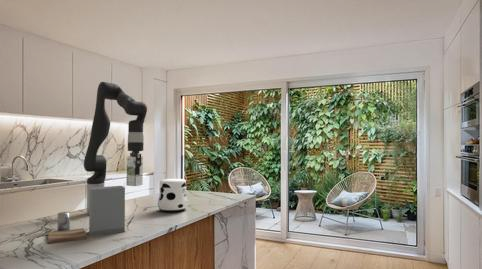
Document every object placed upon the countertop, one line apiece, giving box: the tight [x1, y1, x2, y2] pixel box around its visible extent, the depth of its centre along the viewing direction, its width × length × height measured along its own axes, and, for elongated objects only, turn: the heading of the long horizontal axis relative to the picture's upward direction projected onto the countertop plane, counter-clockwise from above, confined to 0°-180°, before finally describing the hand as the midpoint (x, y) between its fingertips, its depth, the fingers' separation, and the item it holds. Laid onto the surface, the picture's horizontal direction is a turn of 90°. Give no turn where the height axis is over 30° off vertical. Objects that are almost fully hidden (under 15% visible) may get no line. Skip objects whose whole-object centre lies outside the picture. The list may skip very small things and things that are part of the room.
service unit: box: [88, 185, 126, 237], centre depth 150 cm, size 9×14×20 cm, turn 120°
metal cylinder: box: [57, 211, 71, 231], centre depth 153 cm, size 5×5×8 cm
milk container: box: [157, 178, 188, 213], centre depth 197 cm, size 17×17×18 cm
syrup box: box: [125, 155, 144, 187], centre depth 163 cm, size 6×6×14 cm
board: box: [48, 227, 88, 244], centre depth 142 cm, size 14×14×1 cm
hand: (135, 174), depth 164 cm, fingers closed on syrup box, 8 cm apart
